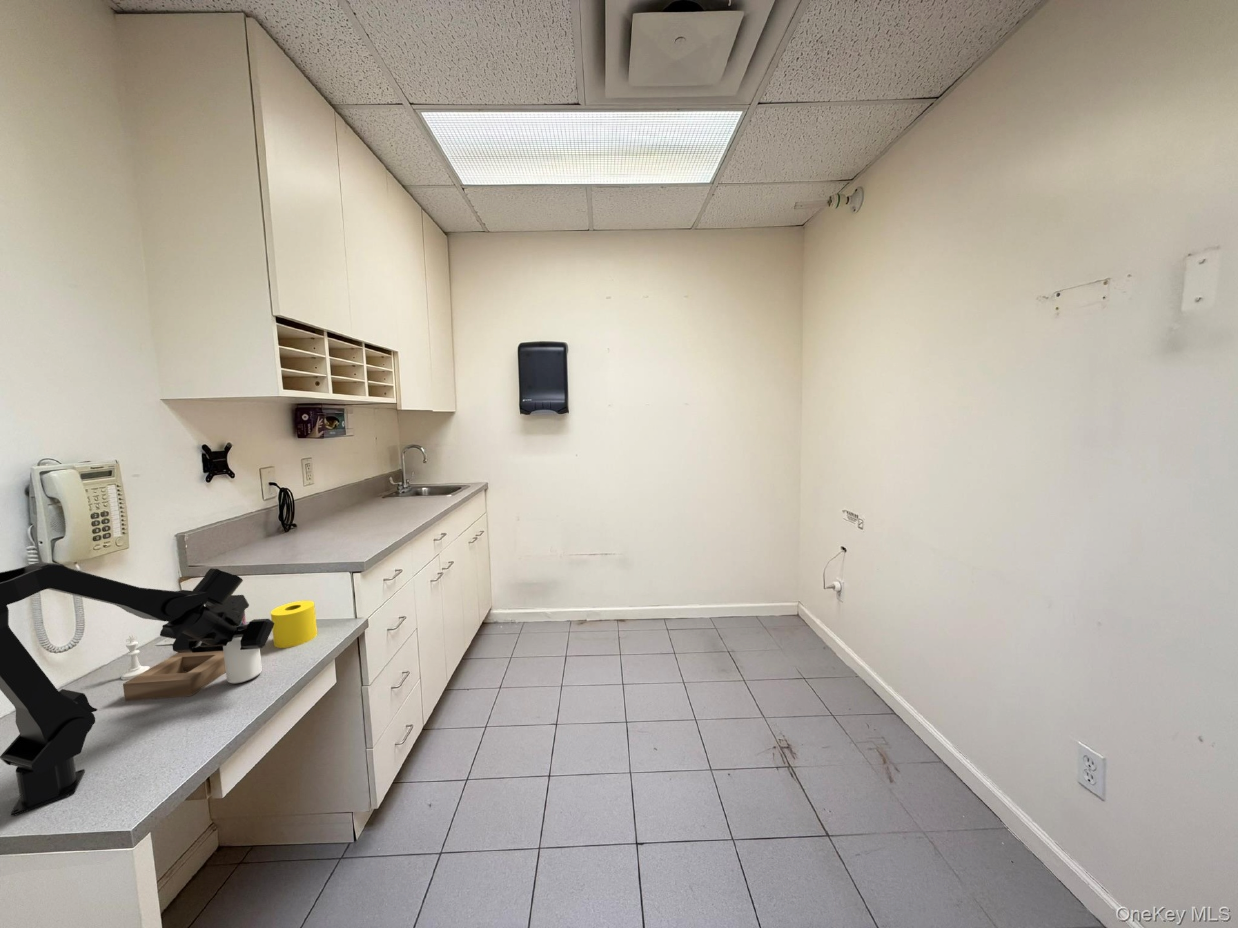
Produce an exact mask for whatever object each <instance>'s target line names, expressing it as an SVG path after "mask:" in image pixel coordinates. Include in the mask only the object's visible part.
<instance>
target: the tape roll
mask: <svg viewBox="0 0 1238 928" xmlns="http://www.w3.org/2000/svg"><path fill="white" fill-rule="evenodd" d="M270 620H272V621H273V622H274V626H273V628H272V639H273V646H274V647H275V648H278V649H285V648H293V647H297V646H300V645H303V644H305V643H309V642H310V641H312V640H314V639H315V638H316V637H317V635H318V630H317V617H316V609H315V602H314V601H313V600H298V601H293V602H289V603H285V604H282V605H279V606H277V607H275V608H273V609H272V610H271V611H270Z"/></svg>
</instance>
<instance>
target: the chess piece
mask: <svg viewBox="0 0 1238 928" xmlns="http://www.w3.org/2000/svg"><path fill="white" fill-rule="evenodd" d="M137 639H138V638H137V636H135V637H133V635H130V636H129V638H128V639H126V640H125V642H126V643H127V642H128V643H127V644H125V646H126V648H127V649H128V650H129V652H128V653H126V656H127V657H129V656H130V663H129V664H130V665H129V666H130V668H128V670H127V671H125V672H123V673H122V674H121V680H124V681H125V680H127V681H129V680H131V679H132V678H134V677H136V676H138V675H140V674H141V673H143V672H145V671H147V670H148V669H150V666H148V665H144V666H143V665H141V663H140V662H139V658H138V656H137V655H138V654H139V653H140V652H141V651H140V650H139V649H137V648H138V644H139V642H138V641H134V640H137Z"/></svg>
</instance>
